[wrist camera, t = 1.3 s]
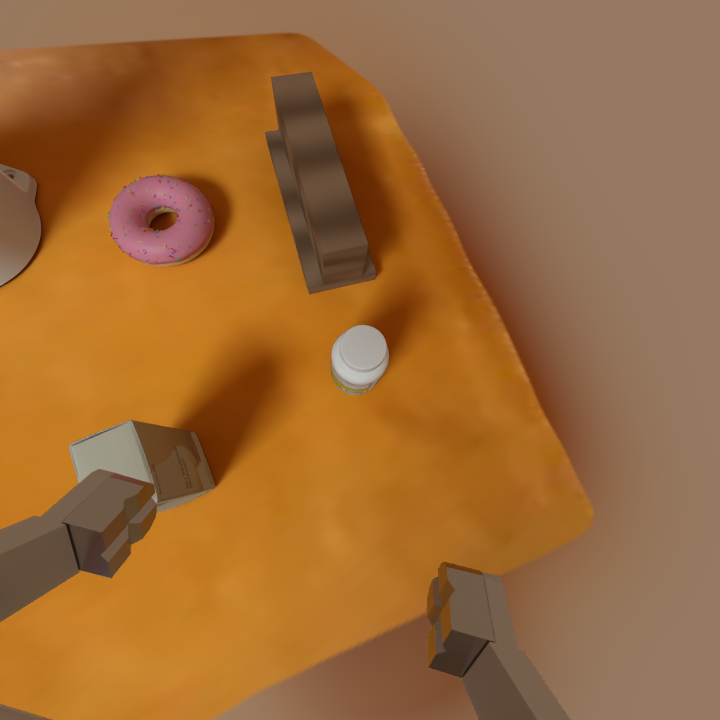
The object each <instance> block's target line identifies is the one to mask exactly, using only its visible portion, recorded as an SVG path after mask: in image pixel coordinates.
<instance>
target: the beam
mask: <svg viewBox="0 0 720 720" xmlns="http://www.w3.org/2000/svg"><path fill="white" fill-rule="evenodd" d="M271 80H272V87H273V94H274V100H275V107H276V114H277V120H278V127H279V130H276V131H269V132H265V134H266V139H267V144H268V147H269V151H270V155H271V158H272V162H273V165H274V169H275V173H276V176H277V180H278V183H279V187H280V191H281V194H282V198H283V201H284V205H285V209H286V212H287V216H288V219H289V223H290V226H291V230H292V234H293V237H294V241H295V244H296V248H297V252H298V255H299V259H300V262H301V266H302V270H303V273H304V277H305V280H306V284H307V288H308V291H309V294H312V293H317V292H321V291H325V290H330V289H334V288H339V287H343V286H348V285H352V284H356V283H361V282H365V281H370V280H374V279H375V277H376V270H375V267H374V264H373V261H372V258H371V255H370V252H369V249H368V241H367V238H366V235H365V232H364V229H363V226H362V223H361V220H360V217H359V214H358V211H357V208H356V205H355V202H354V199H353V196H352V193H351V190H350V187H349V184H348V181H347V178H346V175H345V172H344V169H343V166H342V163H341V160H340V157H339V153H338V150H337V147H336V144H335V141H334V138H333V135H332V132H331V129H330V126H329V123H328V120H327V117H326V114H325V111H324V108H323V105H322V102H321V99H320V96H319V93H318V90H317V87H316V84H315V81H314V78H313V75H312V72H308V73H300V74H292V75H284V76H276V77H271Z"/></svg>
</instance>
